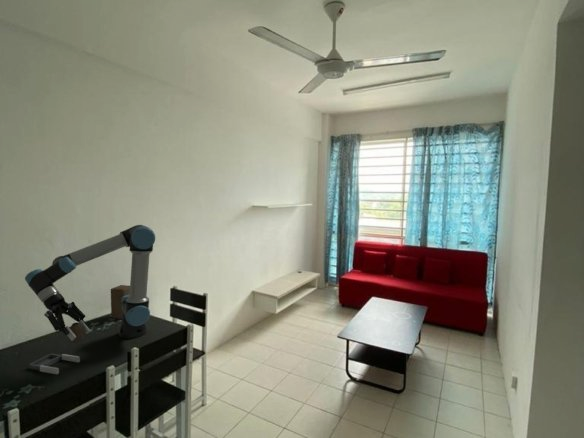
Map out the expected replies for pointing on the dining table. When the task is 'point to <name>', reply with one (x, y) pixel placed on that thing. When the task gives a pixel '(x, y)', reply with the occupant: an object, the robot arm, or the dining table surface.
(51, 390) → the dining table surface
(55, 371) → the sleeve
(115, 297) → the block
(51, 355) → the grey flat frame
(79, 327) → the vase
